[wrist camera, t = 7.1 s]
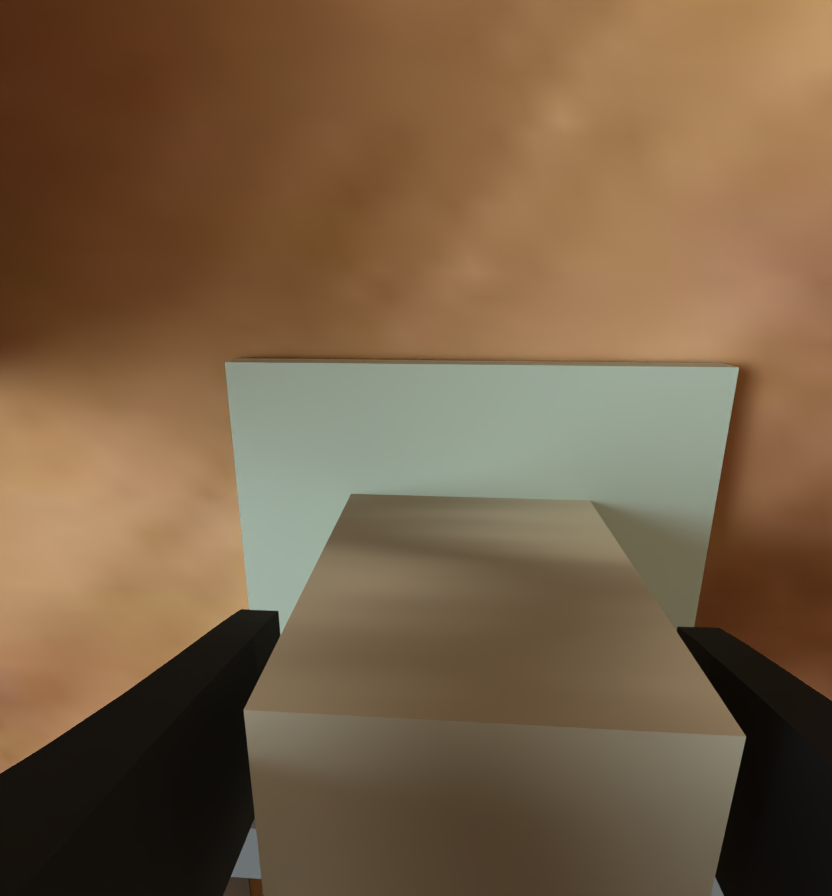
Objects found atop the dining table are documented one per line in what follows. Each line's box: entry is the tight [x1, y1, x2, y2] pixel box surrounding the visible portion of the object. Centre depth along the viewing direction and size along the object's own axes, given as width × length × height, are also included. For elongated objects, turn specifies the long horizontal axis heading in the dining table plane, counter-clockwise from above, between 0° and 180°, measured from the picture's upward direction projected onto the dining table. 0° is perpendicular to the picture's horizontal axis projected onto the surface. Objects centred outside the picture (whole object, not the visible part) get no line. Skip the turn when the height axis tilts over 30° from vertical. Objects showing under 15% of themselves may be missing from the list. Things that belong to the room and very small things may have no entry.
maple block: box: [244, 494, 746, 896], centre depth 8 cm, size 4×4×6 cm
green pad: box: [225, 358, 739, 636], centre depth 11 cm, size 9×9×1 cm
